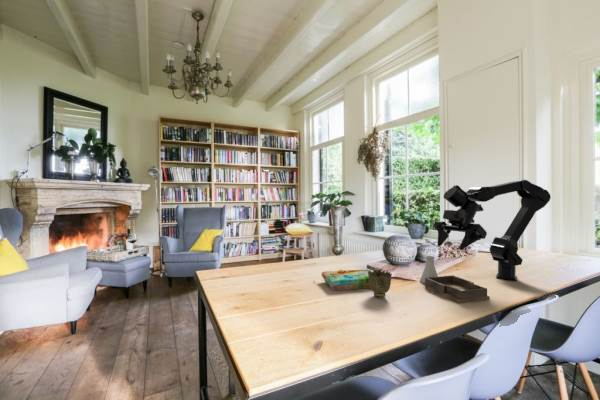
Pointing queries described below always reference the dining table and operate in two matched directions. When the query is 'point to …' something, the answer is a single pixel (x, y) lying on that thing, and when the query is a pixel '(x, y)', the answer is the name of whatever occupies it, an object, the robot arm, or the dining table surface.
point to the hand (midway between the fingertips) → (448, 247)
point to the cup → (379, 282)
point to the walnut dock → (456, 289)
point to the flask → (429, 269)
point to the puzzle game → (347, 279)
